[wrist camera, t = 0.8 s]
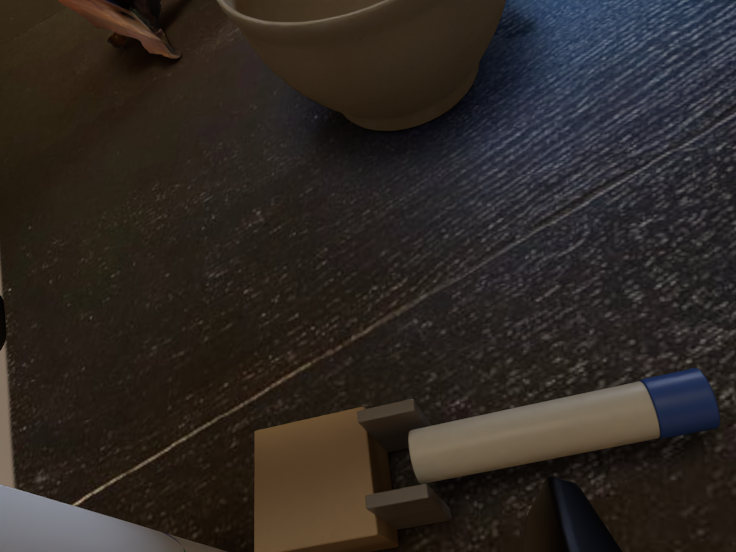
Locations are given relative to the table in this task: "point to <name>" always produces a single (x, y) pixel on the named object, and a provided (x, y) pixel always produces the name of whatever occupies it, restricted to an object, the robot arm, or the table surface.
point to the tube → (76, 529)
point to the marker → (566, 426)
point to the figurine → (127, 22)
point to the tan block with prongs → (338, 482)
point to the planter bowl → (372, 52)
